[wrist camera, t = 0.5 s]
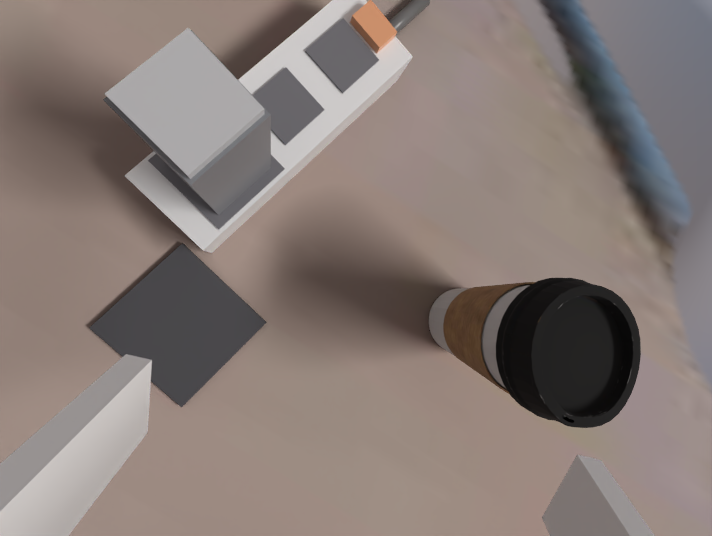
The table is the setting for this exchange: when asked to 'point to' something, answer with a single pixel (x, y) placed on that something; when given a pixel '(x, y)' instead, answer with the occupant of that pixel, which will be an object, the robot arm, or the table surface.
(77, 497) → the robot arm
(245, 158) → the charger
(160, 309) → the mat
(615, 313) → the coffee cup
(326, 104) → the power strip
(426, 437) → the table surface
